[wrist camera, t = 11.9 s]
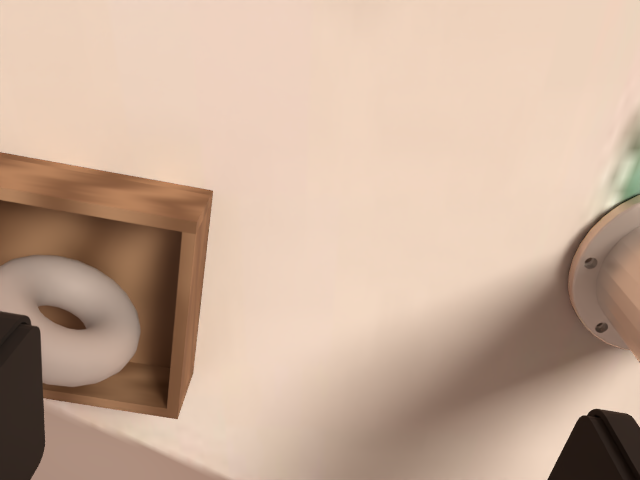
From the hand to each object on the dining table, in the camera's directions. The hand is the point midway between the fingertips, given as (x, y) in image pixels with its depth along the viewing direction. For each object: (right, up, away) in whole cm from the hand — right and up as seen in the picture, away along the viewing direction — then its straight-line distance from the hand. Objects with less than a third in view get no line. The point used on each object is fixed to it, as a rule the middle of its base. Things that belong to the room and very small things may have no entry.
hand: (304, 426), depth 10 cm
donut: (-16, +1, +31) cm, 35 cm away
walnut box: (-16, +1, +32) cm, 35 cm away
